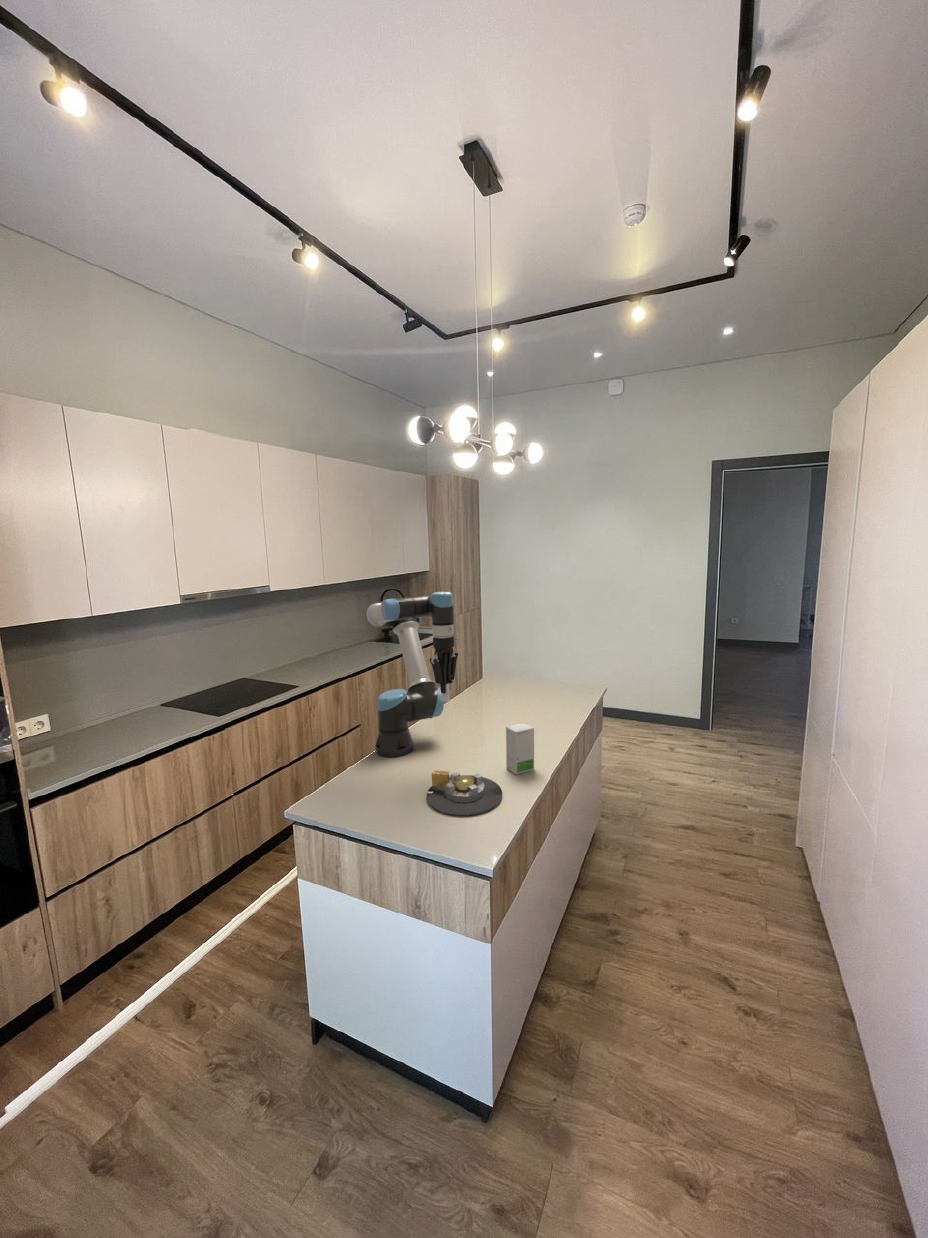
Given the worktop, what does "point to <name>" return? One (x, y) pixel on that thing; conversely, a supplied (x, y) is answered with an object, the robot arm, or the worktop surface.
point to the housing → (473, 808)
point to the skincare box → (520, 748)
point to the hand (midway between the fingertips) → (445, 701)
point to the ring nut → (449, 786)
